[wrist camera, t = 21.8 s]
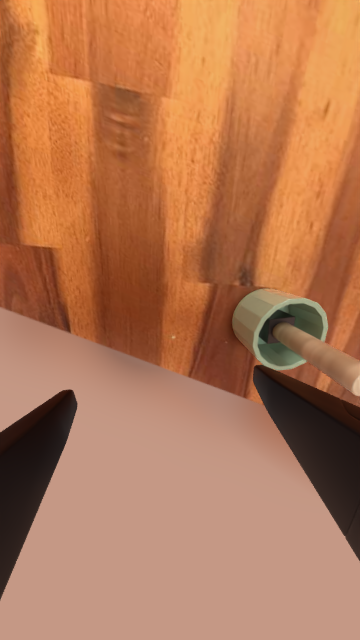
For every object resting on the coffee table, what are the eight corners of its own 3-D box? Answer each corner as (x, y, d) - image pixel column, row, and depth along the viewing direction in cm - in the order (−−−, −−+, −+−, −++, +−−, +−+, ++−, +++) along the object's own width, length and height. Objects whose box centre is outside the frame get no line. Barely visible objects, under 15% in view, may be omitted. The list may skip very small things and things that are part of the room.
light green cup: (271, 352, 25) (300, 377, 20) (222, 336, 23) (240, 359, 18) (301, 300, 23) (342, 313, 18) (249, 279, 21) (278, 286, 16)
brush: (251, 331, 23) (341, 404, 12) (253, 310, 22) (352, 367, 11) (273, 328, 23) (381, 398, 12) (275, 307, 22) (395, 361, 11)
